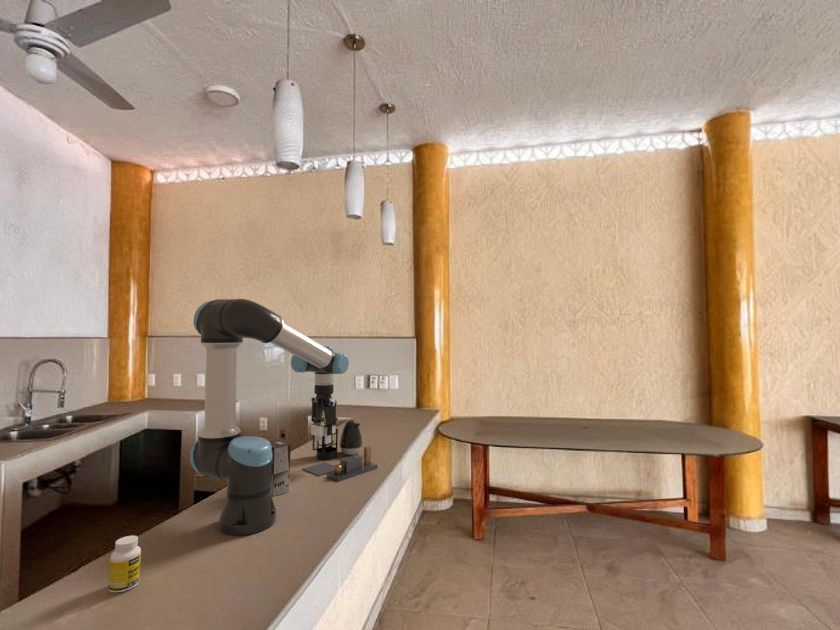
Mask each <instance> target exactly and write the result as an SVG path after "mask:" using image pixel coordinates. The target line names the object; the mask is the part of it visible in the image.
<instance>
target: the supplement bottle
mask: <svg viewBox="0 0 840 630" xmlns="http://www.w3.org/2000/svg"><path fill="white" fill-rule="evenodd" d="M138 542H139V537H138V535H127V536H123V537H120V538H119V539H117V540H115V543H114V545H115V546H114V551H113V552H112V553H111V555H110V558H109V559H110V560H109V572H108V584H107V585H108V589H107V590H108V592H109V591H111V592H121V591H126V590H129V589H131V588H133V587H134V588H136V587H137V586H136V585H139V583H140V575H141V574H140V572H141V559H142V558H141V557H142V549H141V547H140V546H139V545H138V544H139V543H138ZM134 588H133V589H134ZM131 590H132V589H131ZM129 591H130V590H129ZM111 592H110V593H111ZM126 592H127V591H126Z"/></svg>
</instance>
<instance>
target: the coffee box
mask: <svg viewBox="0 0 840 630" xmlns="http://www.w3.org/2000/svg"><path fill="white" fill-rule="evenodd" d="M269 442H270V444H271V447H272V469H271V491H270V492H271V496H272V497H276V496H279V495H283V494H286V493H289V492H290V487H291V454H292V453H291V449H292V448H291V444H290V443H287V442H285V441H282V440H278V439H277V440H271V441H269Z"/></svg>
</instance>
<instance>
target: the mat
mask: <svg viewBox="0 0 840 630" xmlns="http://www.w3.org/2000/svg"><path fill="white" fill-rule="evenodd" d="M334 465H335V464H334ZM334 465H333V464H331V463H327V462H325V461H324V462H320V463H318V464H313V465H310V466H307V467H304V468H301V470H303V471H305V472H307V473H309V474H312V475H315V476H317V477H320V476H321V477H322V476H324V475H327V473H329V472H332V471H334Z"/></svg>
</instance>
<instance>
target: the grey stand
mask: <svg viewBox="0 0 840 630" xmlns="http://www.w3.org/2000/svg"><path fill="white" fill-rule="evenodd" d="M378 468H379V467H378V464H376V463H373V462H372V446H370V445H366V446H364V447H363V456H362V455H359V454H355V455H348V456H345V457H343V458H340V459H339V464H338V463H337V464H336V463H335V464H334V471H332V472H329V473H327V474H326V478H328V479H331V480H333V481H336V482H338V483H339V482H342V481H344V480H348V479H350V478H353V477H357V476H359V475H363V474H365V473H368V472H370V471H373V470H377V469H378Z"/></svg>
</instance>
